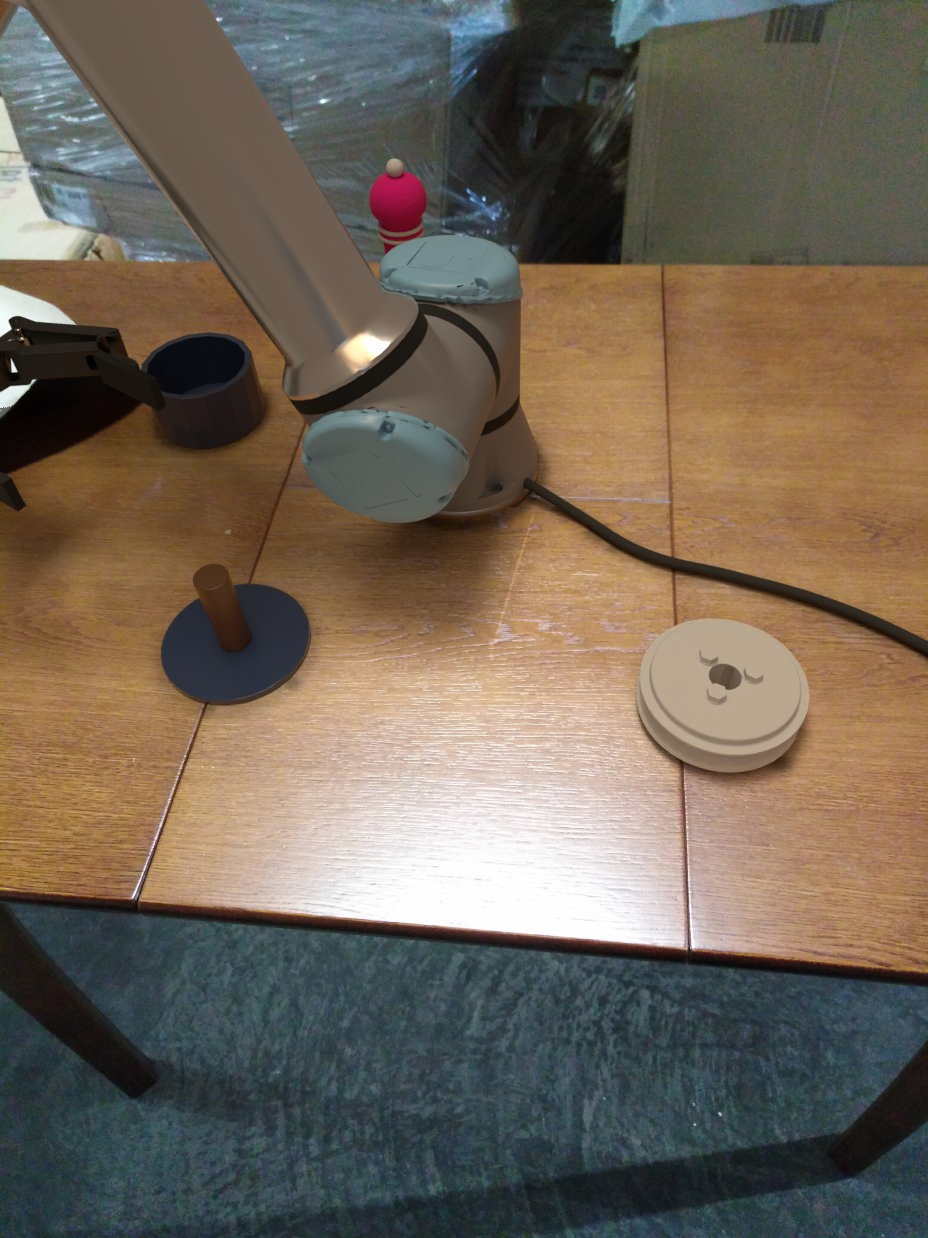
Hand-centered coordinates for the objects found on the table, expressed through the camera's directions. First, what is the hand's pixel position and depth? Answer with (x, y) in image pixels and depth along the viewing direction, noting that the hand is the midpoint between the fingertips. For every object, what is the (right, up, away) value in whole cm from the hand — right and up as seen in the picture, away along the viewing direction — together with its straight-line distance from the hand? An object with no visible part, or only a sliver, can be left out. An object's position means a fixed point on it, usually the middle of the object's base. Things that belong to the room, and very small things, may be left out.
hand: (90, 442), depth 66 cm
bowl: (0, +9, +31) cm, 32 cm away
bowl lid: (+8, -15, +10) cm, 20 cm away
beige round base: (+48, -20, +5) cm, 52 cm away
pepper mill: (+22, +21, +39) cm, 49 cm away
